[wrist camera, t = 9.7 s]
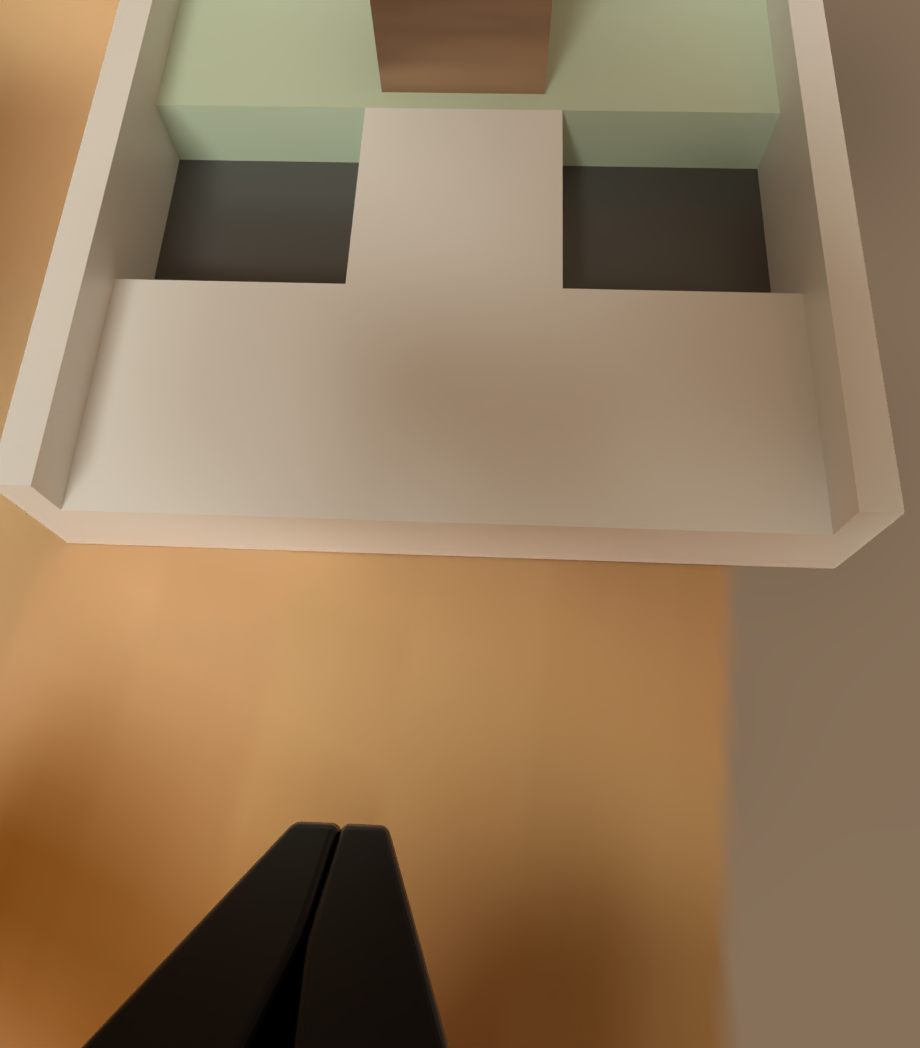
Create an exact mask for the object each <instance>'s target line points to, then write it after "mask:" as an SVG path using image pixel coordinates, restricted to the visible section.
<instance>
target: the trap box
mask: <svg viewBox="0 0 920 1048" xmlns="http://www.w3.org/2000/svg"><path fill="white" fill-rule="evenodd" d="M0 493H1V494H2V495H3V496H5V497H6V498H8V499H9V500H10V501H12V502H13V503H14V504H16V505H17V506H18V507H20V508H21V509H22V510H24V511H25V512H27V513H28V514H29V515H31V516H32V517H33V518H35V519H36V520H37V521H39V522H40V523H41V524H43V525H44V526H45V527H47V528H48V529H50V530H51V531H52V532H54V533H55V534H56V535H58V536H59V537H60V538H62V539H63V540H64V541H66V542H67V543H83V544H113V545H142V546H172V547H202V548H232V549H262V550H291V551H321V552H351V553H381V554H410V555H440V556H470V557H500V558H530V559H559V560H589V561H619V562H649V563H678V564H708V565H738V566H768V567H799V568H830V569H835V568H836V567H837V566H839V565H840V564H841V563H842V562H844V561H845V560H846V559H847V558H849V557H850V556H851V555H852V554H854V553H855V552H856V551H858V550H859V549H860V548H861V547H863V546H864V545H865V544H866V543H868V542H869V541H870V540H871V539H872V538H874V537H875V536H876V535H878V534H879V533H880V532H881V531H883V530H884V529H885V528H887V527H888V526H889V525H890V524H892V523H893V522H894V521H895V520H897V519H898V518H899V517H900V516H902V515H903V514H904V513H905V510H904V504H903V498H902V492H901V486H900V479H899V473H898V467H897V461H896V454H895V448H894V442H893V436H892V429H891V423H890V417H889V411H888V405H887V398H886V392H885V386H884V380H883V373H882V367H881V361H880V355H879V349H878V342H877V336H876V330H875V325H874V317H873V312H872V305H871V299H870V293H869V286H868V280H867V274H866V268H865V261H864V255H863V249H862V243H861V237H860V231H859V225H858V219H857V212H856V205H855V199H854V193H853V187H852V181H851V174H850V168H849V162H848V156H847V150H846V143H845V137H844V131H843V125H842V118H841V112H840V106H839V100H838V93H837V88H836V81H835V75H834V69H833V62H832V57H831V50H830V44H829V37H828V31H827V25H826V19H825V13H824V7H823V0H553V1H552V13H551V25H550V36H549V48H548V60H547V72H546V84H545V94H491V93H409V92H382V90H381V82H380V74H379V67H378V59H377V52H376V44H375V36H374V29H373V21H372V14H371V6H370V0H120V1H119V5H118V9H117V12H116V16H115V20H114V24H113V27H112V31H111V35H110V38H109V42H108V46H107V49H106V53H105V57H104V61H103V64H102V68H101V72H100V75H99V79H98V83H97V86H96V90H95V94H94V97H93V101H92V105H91V109H90V112H89V116H88V120H87V123H86V127H85V131H84V134H83V138H82V142H81V146H80V149H79V153H78V157H77V160H76V164H75V168H74V171H73V175H72V179H71V182H70V186H69V190H68V194H67V197H66V201H65V205H64V208H63V212H62V216H61V219H60V223H59V227H58V230H57V234H56V238H55V242H54V245H53V249H52V253H51V256H50V260H49V264H48V267H47V271H46V275H45V279H44V282H43V286H42V290H41V293H40V297H39V301H38V304H37V308H36V312H35V315H34V319H33V323H32V327H31V330H30V334H29V338H28V341H27V345H26V349H25V352H24V356H23V360H22V364H21V367H20V371H19V375H18V378H17V382H16V386H15V389H14V393H13V397H12V400H11V404H10V408H9V412H8V415H7V419H6V423H5V426H4V430H3V434H2V437H1V441H0Z"/></svg>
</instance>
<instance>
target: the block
mask: <svg viewBox="0 0 920 1048" xmlns="http://www.w3.org/2000/svg"><path fill="white" fill-rule="evenodd" d="M552 1H553V0H370V6H371V14H372V21H373V29H374V36H375V44H376V52H377V59H378V67H379V74H380V82H381V90H382V92H409V93H491V94H545V84H546V72H547V60H548V48H549V36H550V25H551V13H552Z"/></svg>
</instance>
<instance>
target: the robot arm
mask: <svg viewBox="0 0 920 1048" xmlns="http://www.w3.org/2000/svg"><path fill="white" fill-rule="evenodd" d="M82 1048H449V1047H448V1044H447V1040H446V1036H445V1033H444V1029H443V1025H442V1022H441V1018H440V1014H439V1011H438V1007H437V1003H436V1000H435V996H434V992H433V989H432V985H431V981H430V978H429V974H428V970H427V967H426V963H425V959H424V956H423V952H422V948H421V945H420V941H419V938H418V934H417V930H416V927H415V923H414V919H413V916H412V912H411V908H410V905H409V901H408V897H407V894H406V890H405V886H404V883H403V879H402V875H401V872H400V868H399V864H398V861H397V857H396V853H395V850H394V846H393V842H392V839H391V835H390V832H389V830H388V829H387V828H386V827H385V826H382V825H365V824H347V825H345V826H344V827H343V828H342V829H341V828H340V827H339V826H338V825H337V824H335V823H322V822H297V823H295V824H293V825H292V826H290V827H289V828H288V829H287V830H286V831H285V832H284V834H283V835H282V836H281V837H280V838H279V839H278V840H277V841H276V842H275V843H274V844H273V845H272V846H271V847H270V848H269V849H268V851H267V852H266V853H265V854H264V855H263V856H262V857H261V858H260V859H259V860H258V861H257V862H256V863H255V864H254V865H253V866H252V867H251V869H250V870H249V871H248V872H247V873H246V874H245V875H244V876H243V877H242V878H241V879H240V880H239V881H238V882H237V883H236V884H235V886H234V887H233V888H232V889H231V890H230V891H229V892H228V893H227V894H226V895H225V896H224V897H223V898H222V899H221V900H220V901H219V902H218V904H217V905H216V906H215V907H214V908H213V909H212V910H211V911H210V912H209V913H208V914H207V915H206V916H205V917H204V918H203V919H202V921H201V922H200V923H199V924H198V925H197V926H196V927H195V928H194V929H193V930H192V931H191V932H190V933H189V934H188V935H187V936H186V938H185V939H184V940H183V941H182V942H181V943H180V944H179V945H178V946H177V947H176V948H175V949H174V950H173V951H172V952H171V953H170V954H169V956H168V957H167V958H166V959H165V960H164V961H163V962H162V963H161V964H160V965H159V966H158V967H157V968H156V969H155V970H154V971H153V973H152V974H151V975H150V976H149V977H148V978H147V979H146V980H145V981H144V982H143V983H142V984H141V985H140V986H139V987H138V988H137V989H136V991H135V992H134V993H133V994H132V995H131V996H130V997H129V998H128V999H127V1000H126V1001H125V1002H124V1003H123V1004H122V1005H121V1006H120V1008H119V1009H118V1010H117V1011H116V1012H115V1013H114V1014H113V1015H112V1016H111V1017H110V1018H109V1019H108V1020H107V1021H106V1022H105V1023H104V1024H103V1026H102V1027H101V1028H100V1029H99V1030H98V1031H97V1032H96V1033H95V1034H94V1035H93V1036H92V1037H91V1038H90V1039H89V1040H88V1041H87V1043H86V1044H85V1045H84V1046H83V1047H82Z"/></svg>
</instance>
